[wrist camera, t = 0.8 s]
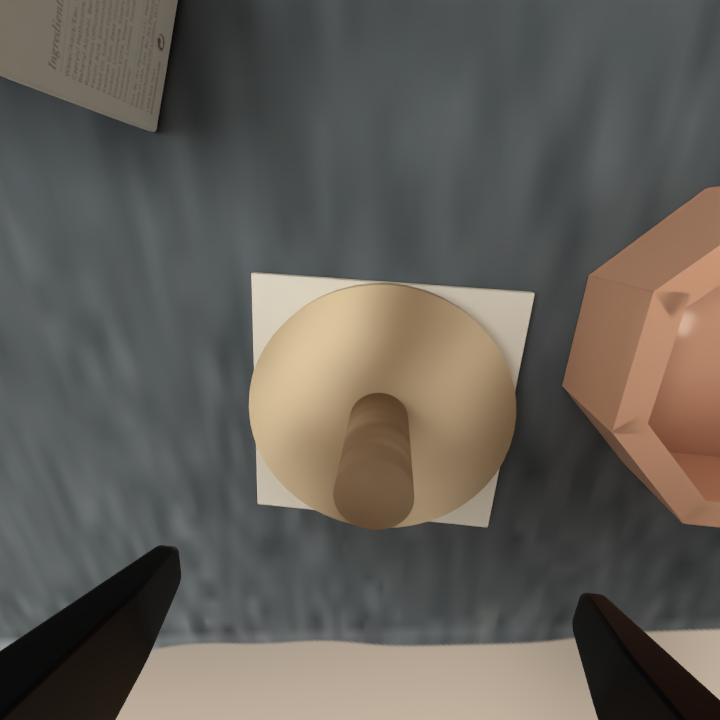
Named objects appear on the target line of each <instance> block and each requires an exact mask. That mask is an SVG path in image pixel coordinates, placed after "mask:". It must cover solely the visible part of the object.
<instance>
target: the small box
mask: <svg viewBox="0 0 720 720" xmlns="http://www.w3.org/2000/svg"><path fill="white" fill-rule="evenodd" d="M177 3H178V0H0V76H1V77H4V78H7V79H9V80H12V81H15V82H17V83H20V84H23V85H25V86H28V87H31V88H33V89H36V90H39V91H41V92H44V93H47V94H49V95H52V96H55V97H57V98H60V99H63V100H65V101H68V102H71V103H73V104H76V105H79V106H81V107H84V108H87V109H90V110H92V111H95V112H98V113H100V114H103V115H106V116H108V117H111V118H114V119H117V120H119V121H122V122H125V123H128V124H130V125H133V126H136V127H139V128H142V129H145V130H147V131H151V132H155V131H156V130H157V124H158V118H159V112H160V106H161V100H162V94H163V88H164V82H165V76H166V70H167V64H168V57H169V51H170V45H171V39H172V33H173V27H174V21H175V14H176V9H177Z"/></svg>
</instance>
